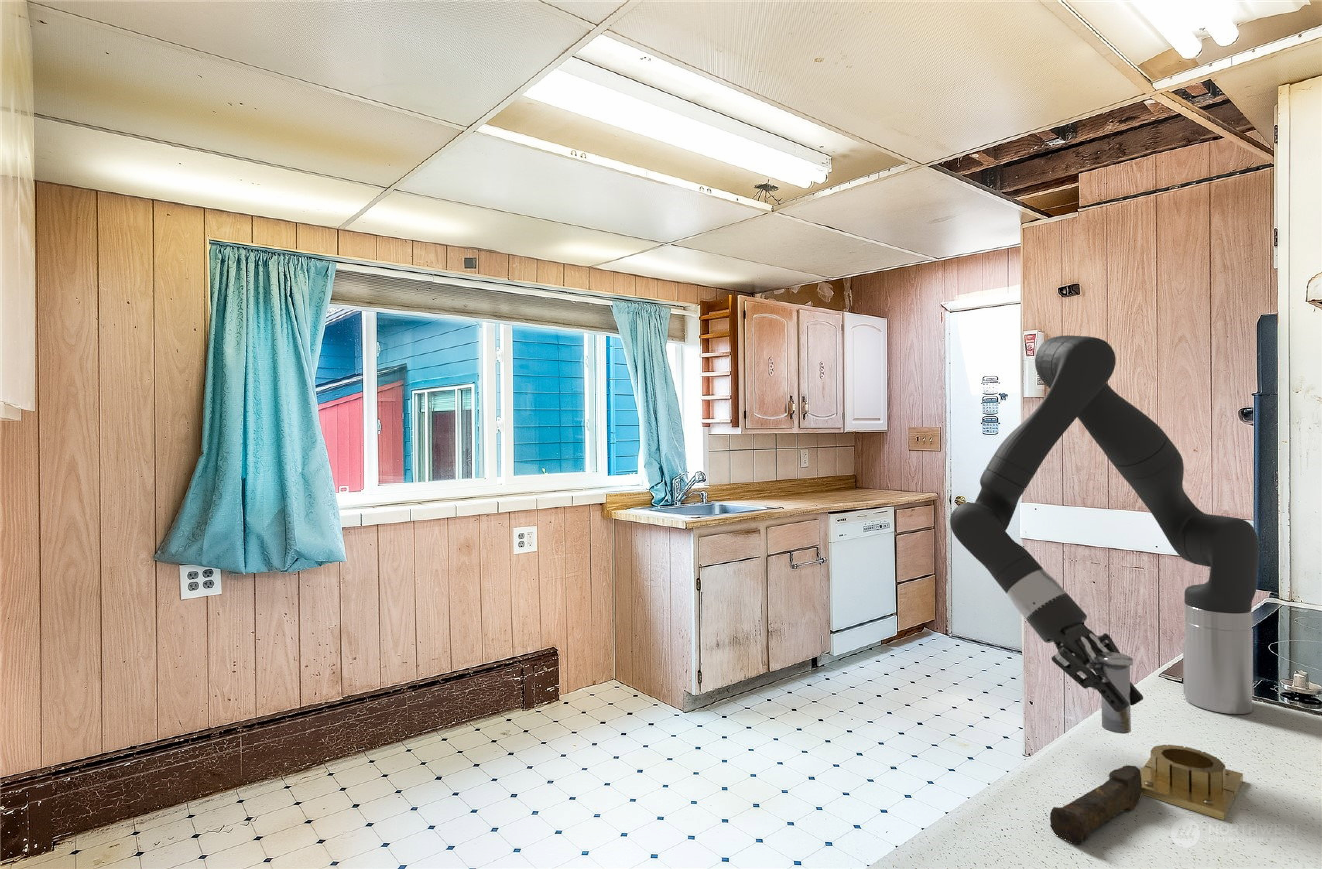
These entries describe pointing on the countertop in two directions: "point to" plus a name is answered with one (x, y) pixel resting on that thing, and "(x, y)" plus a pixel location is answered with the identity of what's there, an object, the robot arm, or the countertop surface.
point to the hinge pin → (1119, 676)
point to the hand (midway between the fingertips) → (1130, 705)
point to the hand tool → (1098, 805)
